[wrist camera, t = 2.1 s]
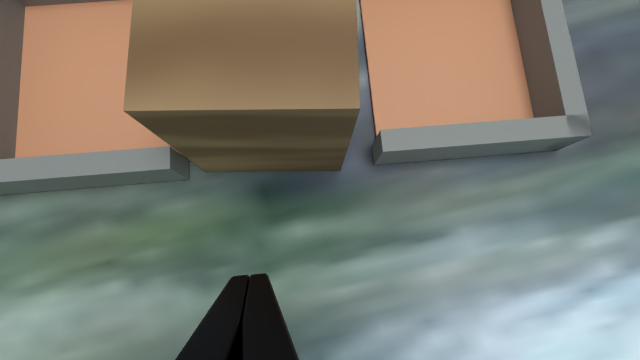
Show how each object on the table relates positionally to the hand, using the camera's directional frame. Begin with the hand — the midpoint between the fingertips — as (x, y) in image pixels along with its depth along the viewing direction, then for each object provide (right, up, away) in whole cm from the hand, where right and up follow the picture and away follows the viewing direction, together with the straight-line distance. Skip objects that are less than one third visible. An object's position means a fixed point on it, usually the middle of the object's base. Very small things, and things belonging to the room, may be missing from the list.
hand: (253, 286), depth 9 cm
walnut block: (-1, +10, +15) cm, 18 cm away
